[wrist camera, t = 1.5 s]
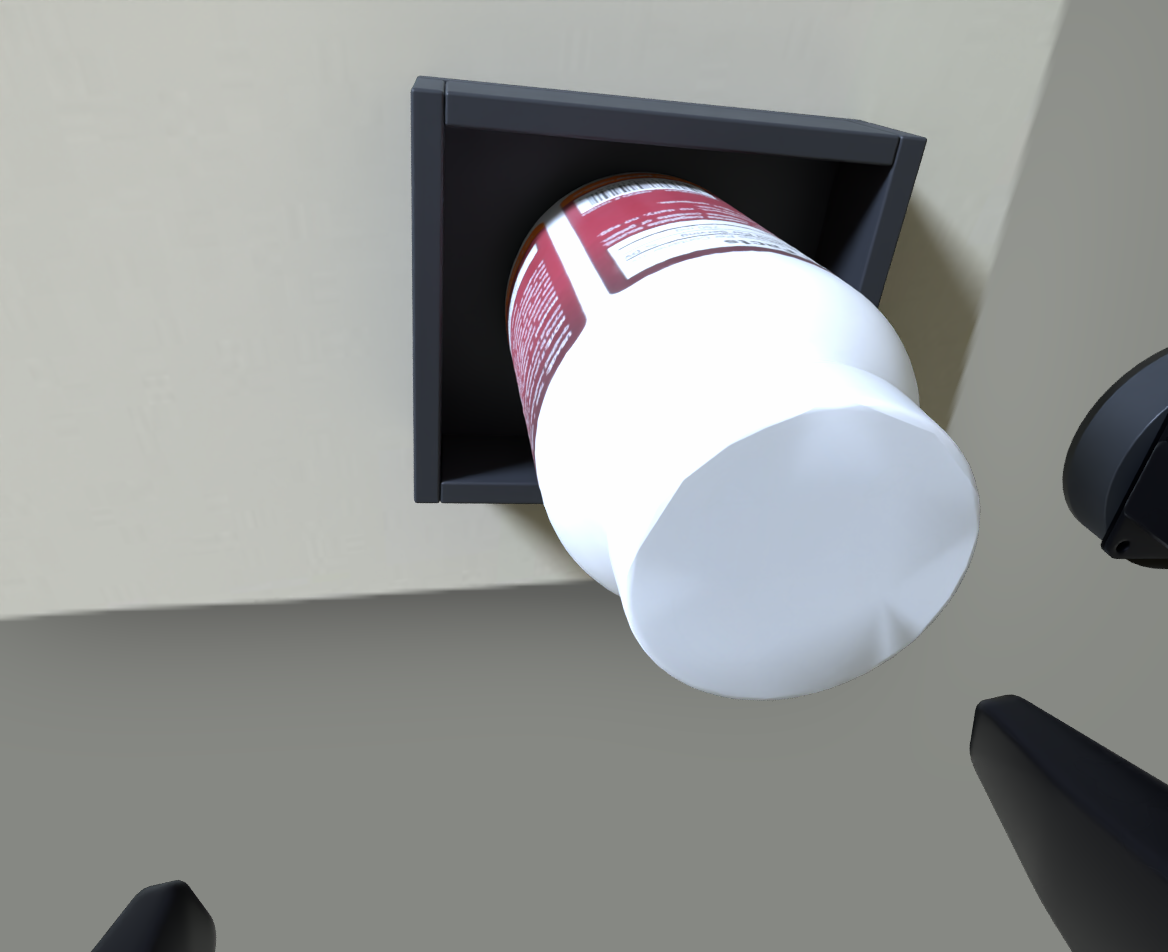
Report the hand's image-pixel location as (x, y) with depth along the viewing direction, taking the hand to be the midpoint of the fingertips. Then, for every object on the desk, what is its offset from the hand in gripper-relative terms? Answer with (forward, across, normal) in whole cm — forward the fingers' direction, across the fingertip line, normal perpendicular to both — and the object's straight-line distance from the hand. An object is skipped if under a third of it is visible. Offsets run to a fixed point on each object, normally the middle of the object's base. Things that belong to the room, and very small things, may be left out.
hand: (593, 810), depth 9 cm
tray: (+13, -3, -1) cm, 14 cm away
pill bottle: (+13, -3, -1) cm, 13 cm away
